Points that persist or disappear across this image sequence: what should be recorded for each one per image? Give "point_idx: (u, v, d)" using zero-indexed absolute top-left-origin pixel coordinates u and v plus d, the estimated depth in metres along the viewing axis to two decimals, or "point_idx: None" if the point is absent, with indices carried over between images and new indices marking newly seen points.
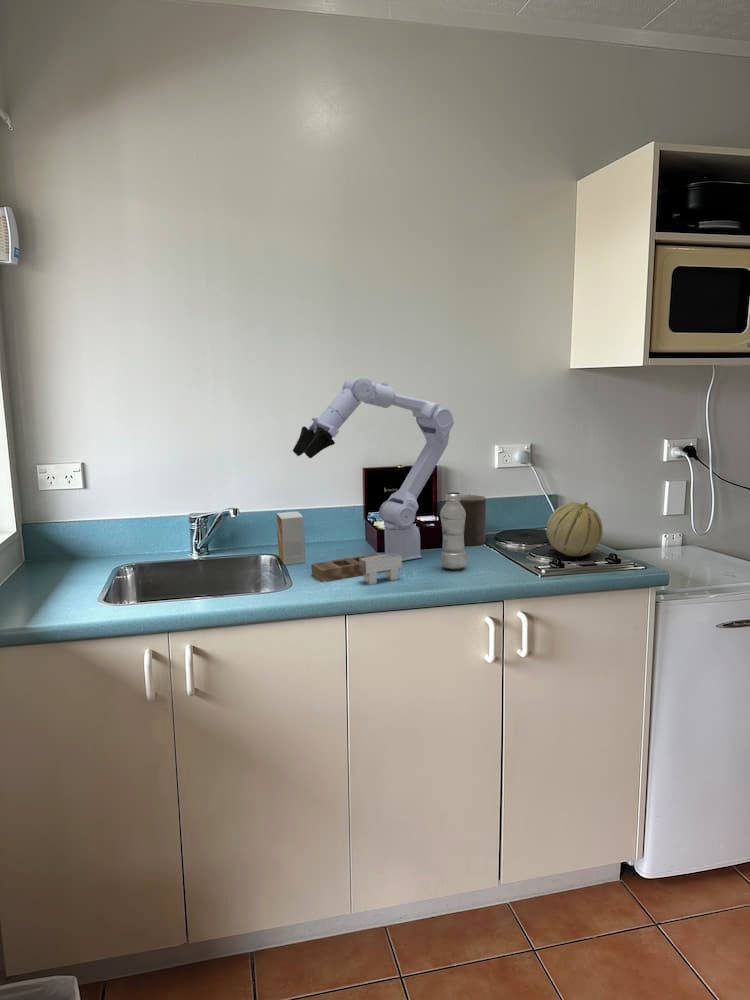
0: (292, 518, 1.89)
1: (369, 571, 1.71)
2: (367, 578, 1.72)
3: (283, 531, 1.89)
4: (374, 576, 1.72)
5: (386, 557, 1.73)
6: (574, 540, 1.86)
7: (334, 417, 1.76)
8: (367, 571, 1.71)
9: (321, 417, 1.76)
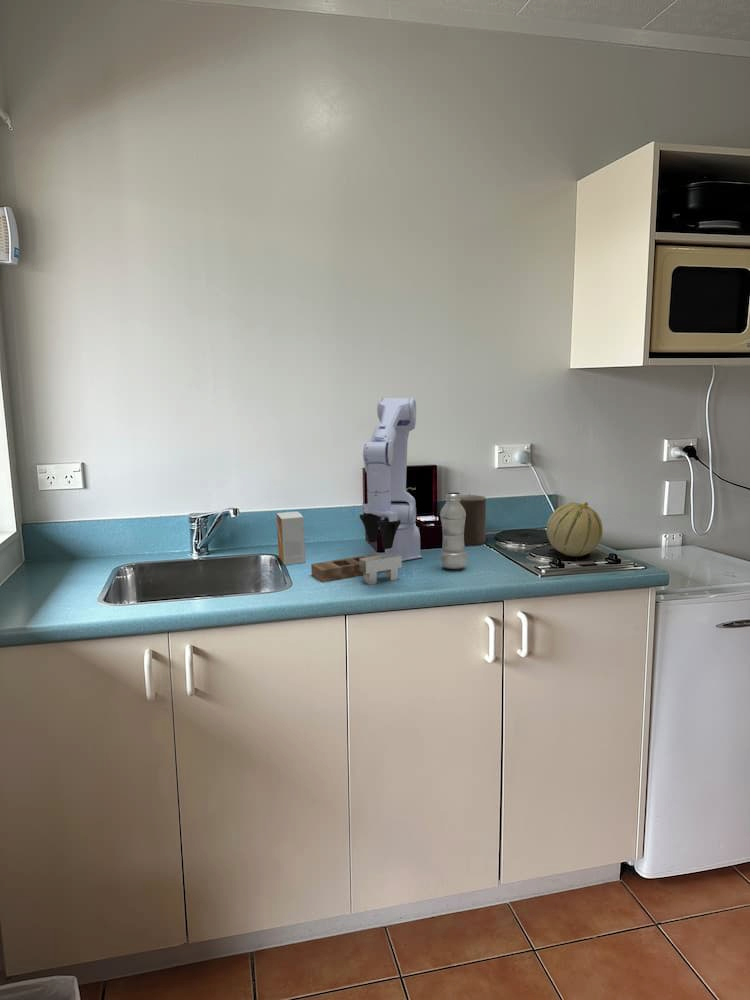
0: (292, 518, 1.89)
1: (369, 571, 1.71)
2: (367, 578, 1.72)
3: (283, 531, 1.89)
4: (374, 576, 1.72)
5: (386, 557, 1.73)
6: (574, 540, 1.86)
7: (381, 498, 1.68)
8: (367, 571, 1.71)
9: (370, 505, 1.69)
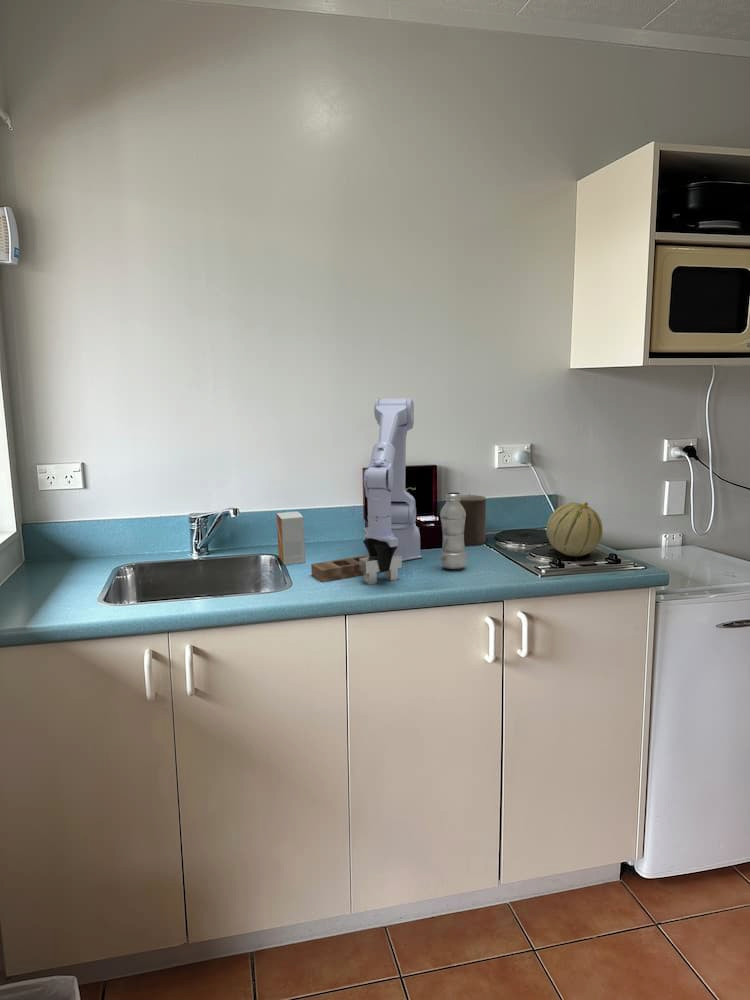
0: (292, 518, 1.89)
1: (369, 571, 1.71)
2: (367, 578, 1.72)
3: (283, 531, 1.89)
4: (374, 576, 1.72)
5: None
6: (574, 540, 1.86)
7: (382, 523, 1.69)
8: (367, 571, 1.71)
9: (371, 530, 1.71)
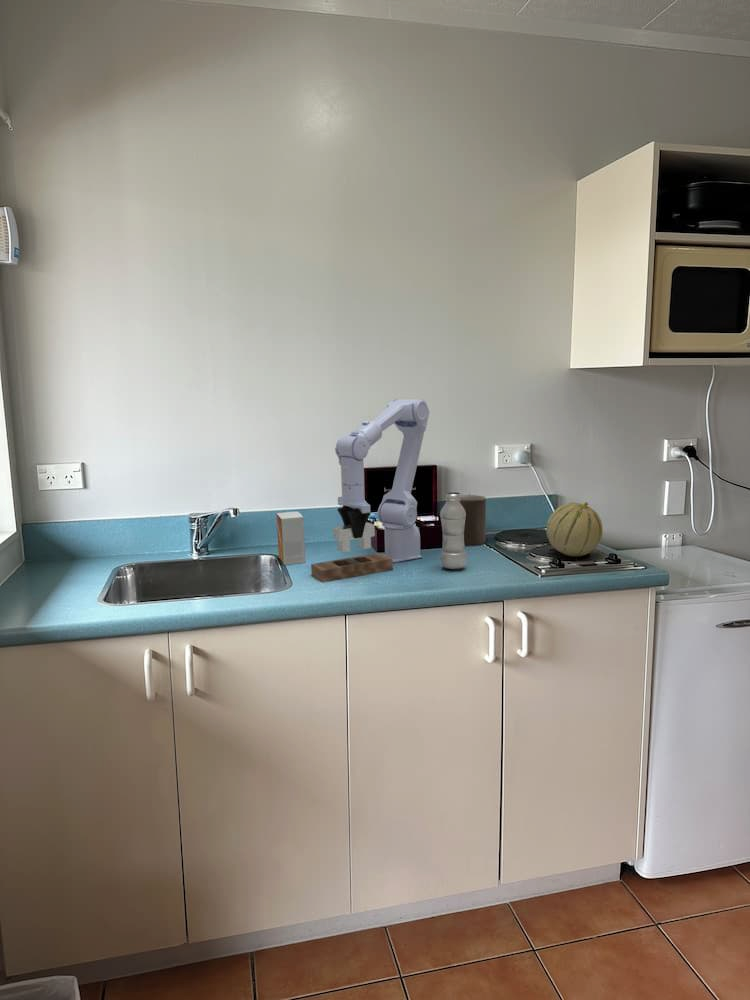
0: (292, 518, 1.89)
1: (342, 539, 1.76)
2: (341, 546, 1.78)
3: (283, 531, 1.89)
4: (348, 544, 1.77)
5: None
6: (574, 540, 1.86)
7: (355, 491, 1.75)
8: (340, 539, 1.76)
9: (345, 498, 1.76)
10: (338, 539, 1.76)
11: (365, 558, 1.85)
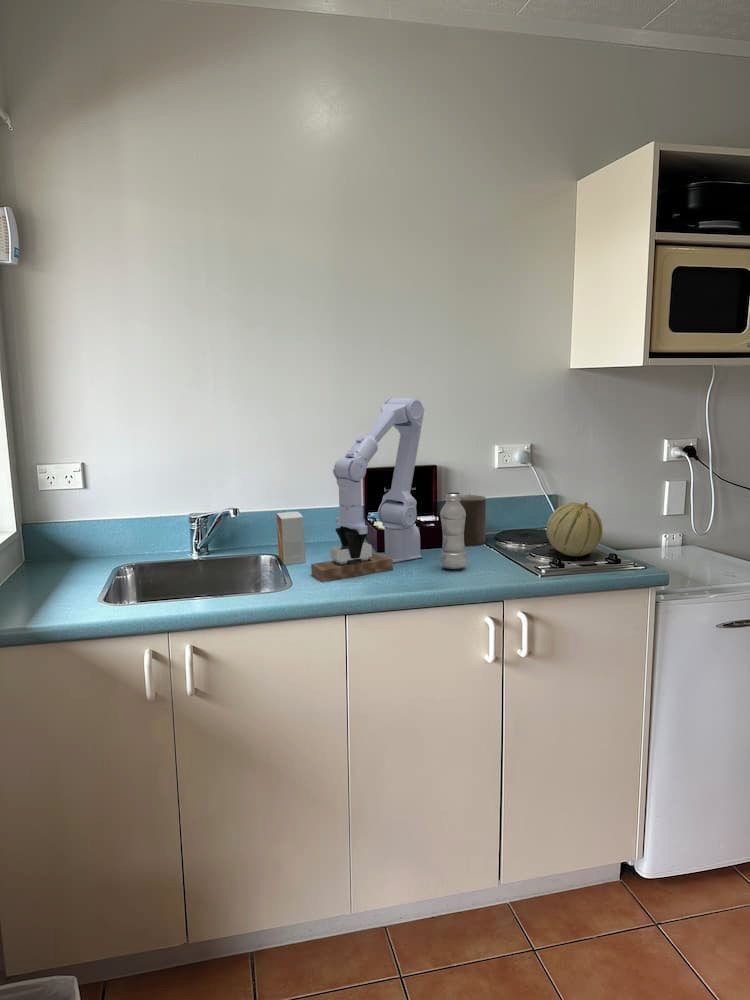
0: (292, 518, 1.89)
1: (340, 559, 1.78)
2: None
3: (283, 531, 1.89)
4: None
5: None
6: (574, 540, 1.86)
7: (352, 512, 1.76)
8: (338, 559, 1.78)
9: (342, 519, 1.78)
10: (335, 559, 1.78)
11: None
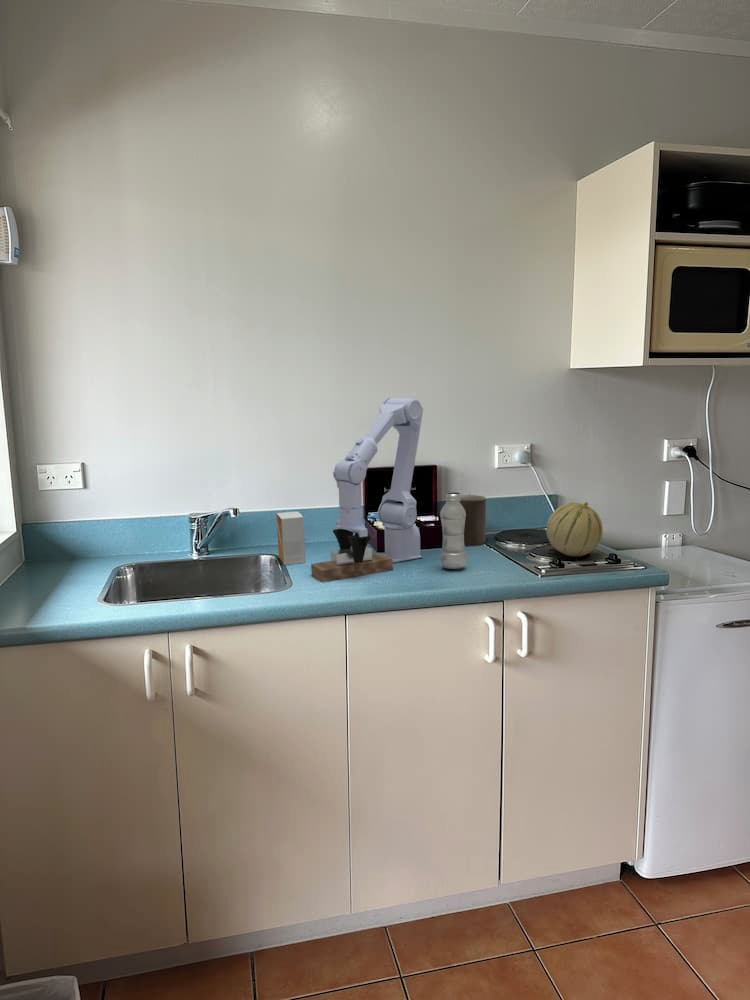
0: (292, 518, 1.89)
1: (340, 563, 1.78)
2: None
3: (283, 531, 1.89)
4: None
5: None
6: (574, 540, 1.86)
7: (352, 514, 1.77)
8: (338, 563, 1.78)
9: (342, 521, 1.78)
10: (336, 563, 1.78)
11: None
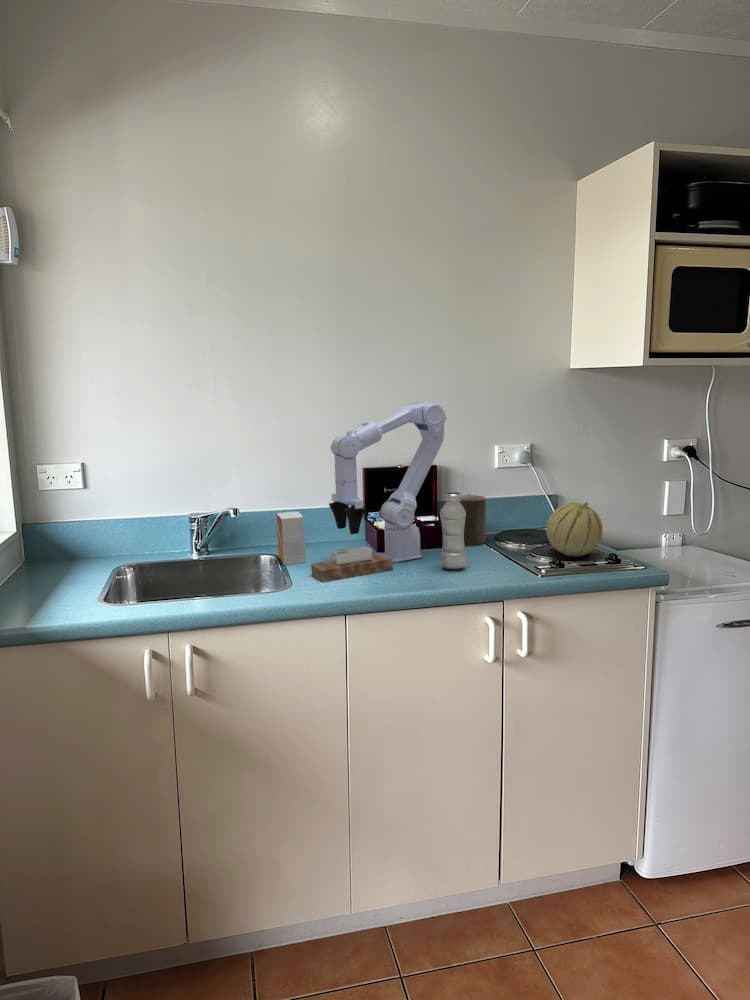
0: (292, 518, 1.89)
1: (340, 563, 1.78)
2: None
3: (283, 531, 1.89)
4: None
5: (357, 550, 1.81)
6: (574, 540, 1.86)
7: (348, 487, 1.83)
8: (338, 563, 1.78)
9: (338, 494, 1.84)
10: (336, 563, 1.78)
11: None
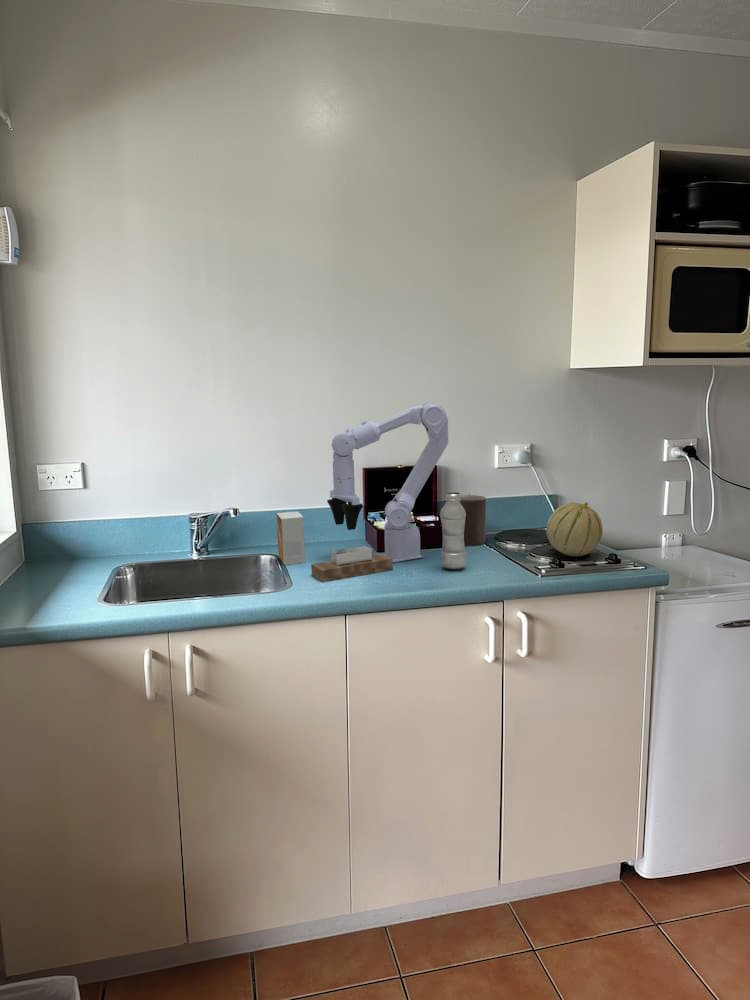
0: (292, 518, 1.89)
1: (340, 563, 1.78)
2: None
3: (283, 531, 1.89)
4: None
5: (357, 550, 1.81)
6: (574, 540, 1.86)
7: (345, 484, 1.88)
8: (338, 563, 1.78)
9: (336, 491, 1.89)
10: (336, 563, 1.78)
11: None
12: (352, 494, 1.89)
